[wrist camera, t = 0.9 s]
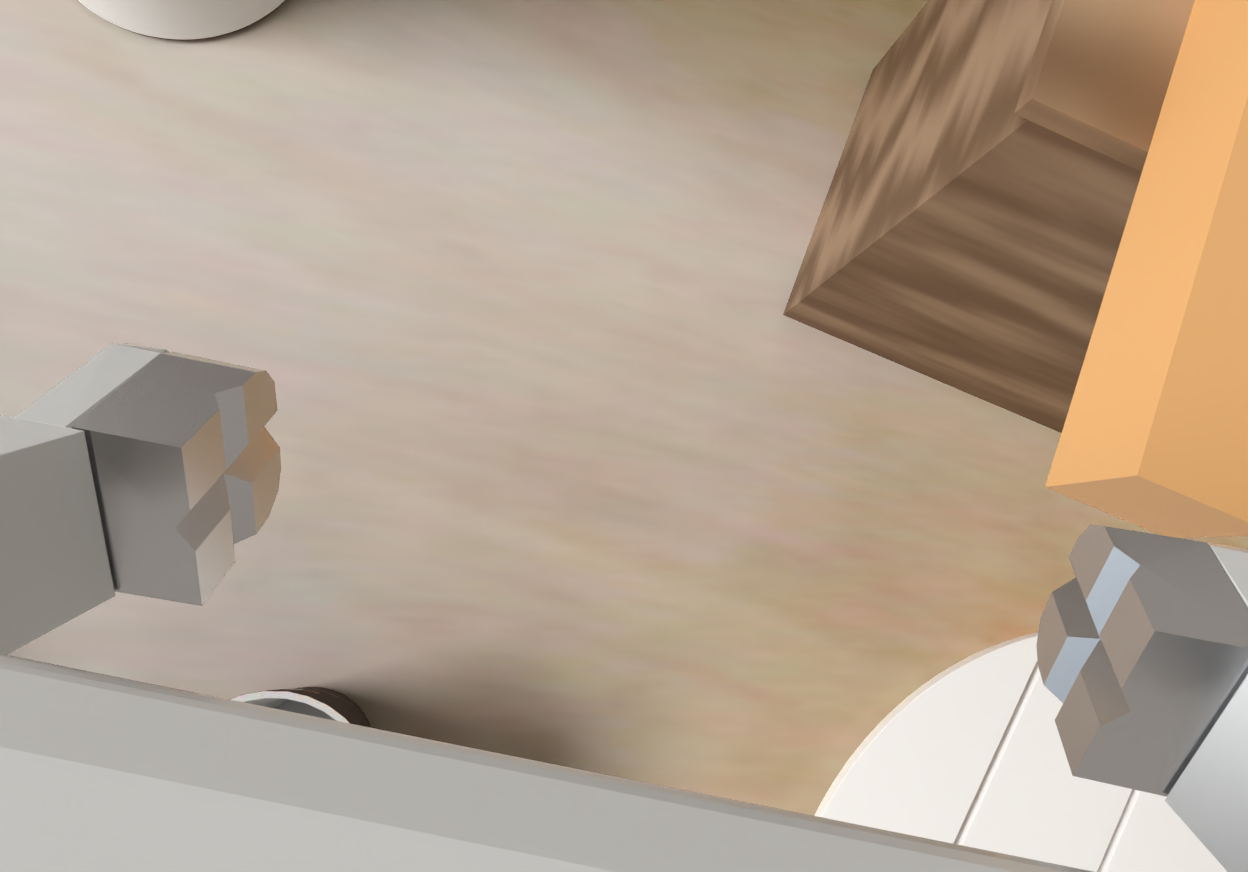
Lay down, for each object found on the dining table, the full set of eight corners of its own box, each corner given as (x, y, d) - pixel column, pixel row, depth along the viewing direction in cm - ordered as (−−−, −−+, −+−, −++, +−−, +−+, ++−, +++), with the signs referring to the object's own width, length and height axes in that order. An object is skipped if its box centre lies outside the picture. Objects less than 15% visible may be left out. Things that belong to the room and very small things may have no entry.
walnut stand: (1135, 464, 57) (1735, 378, 30) (775, 311, 55) (1067, 69, 28) (1206, 220, 60) (1817, -62, 33) (865, 66, 58) (1212, -375, 30)
